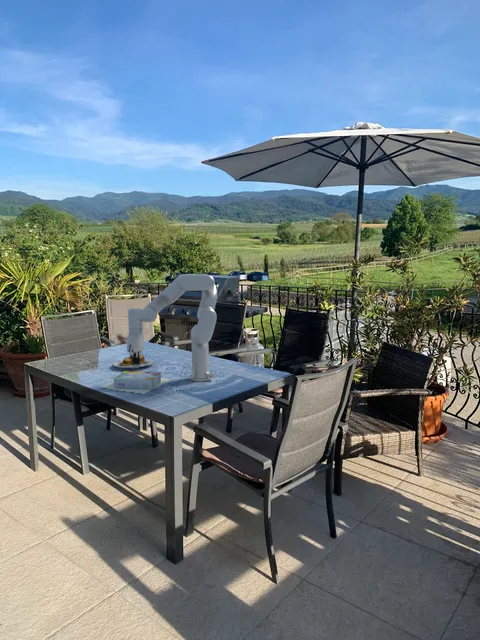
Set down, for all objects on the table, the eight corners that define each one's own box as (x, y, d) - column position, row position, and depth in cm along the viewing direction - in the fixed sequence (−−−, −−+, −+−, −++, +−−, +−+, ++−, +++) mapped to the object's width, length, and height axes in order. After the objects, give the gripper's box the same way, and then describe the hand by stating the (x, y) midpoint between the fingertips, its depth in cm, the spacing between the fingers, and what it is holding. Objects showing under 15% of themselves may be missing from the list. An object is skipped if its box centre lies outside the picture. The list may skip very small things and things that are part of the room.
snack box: (160, 371, 236) (152, 379, 222) (161, 381, 237) (152, 390, 223) (124, 370, 239) (113, 378, 224) (124, 379, 240) (113, 388, 225)
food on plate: (104, 369, 265) (103, 359, 264) (128, 360, 288) (128, 351, 287) (138, 373, 256) (138, 363, 255) (161, 364, 279) (160, 354, 278)
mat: (171, 380, 242) (171, 379, 242) (143, 394, 217) (143, 393, 217) (130, 374, 252) (130, 373, 252) (99, 388, 227) (99, 386, 227)
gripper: (138, 328, 239) (139, 360, 242) (121, 332, 225) (122, 366, 228) (149, 329, 236) (150, 361, 239) (133, 333, 223) (134, 367, 225)
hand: (136, 363), depth 234 cm, fingers closed
